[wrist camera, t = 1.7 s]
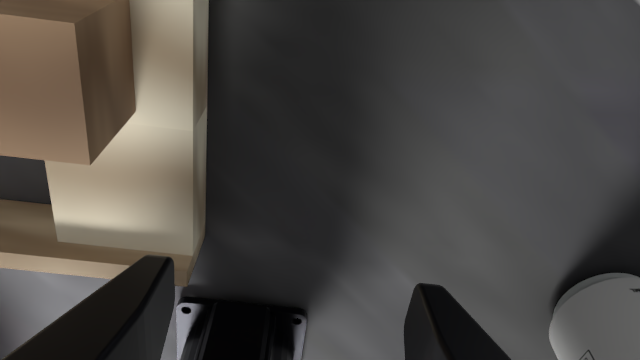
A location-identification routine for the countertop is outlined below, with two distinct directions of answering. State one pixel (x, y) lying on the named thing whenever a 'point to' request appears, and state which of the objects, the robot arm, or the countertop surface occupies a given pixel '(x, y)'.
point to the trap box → (131, 166)
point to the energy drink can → (598, 319)
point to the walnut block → (64, 77)
